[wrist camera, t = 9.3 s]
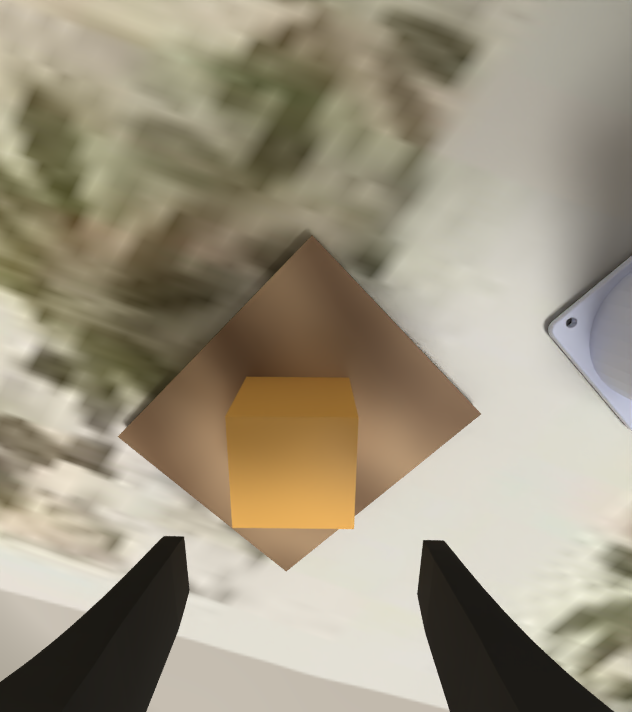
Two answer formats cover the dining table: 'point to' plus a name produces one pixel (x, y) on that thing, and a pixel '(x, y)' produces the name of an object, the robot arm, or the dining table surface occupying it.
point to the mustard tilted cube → (293, 453)
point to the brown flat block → (303, 359)
